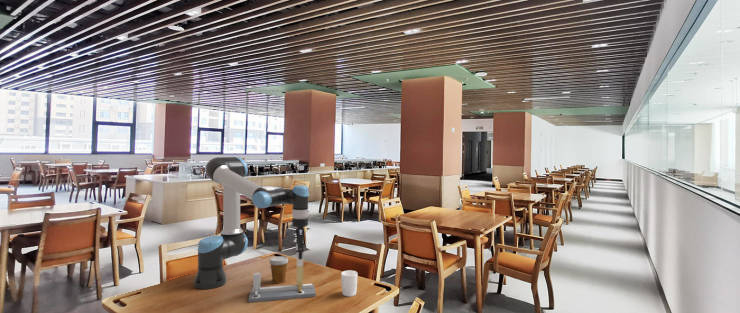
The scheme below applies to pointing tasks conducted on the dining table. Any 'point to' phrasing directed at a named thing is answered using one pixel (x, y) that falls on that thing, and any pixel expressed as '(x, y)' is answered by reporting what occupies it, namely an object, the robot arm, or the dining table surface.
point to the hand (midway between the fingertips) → (299, 261)
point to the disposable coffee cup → (278, 268)
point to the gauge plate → (278, 291)
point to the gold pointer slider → (299, 277)
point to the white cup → (349, 282)
